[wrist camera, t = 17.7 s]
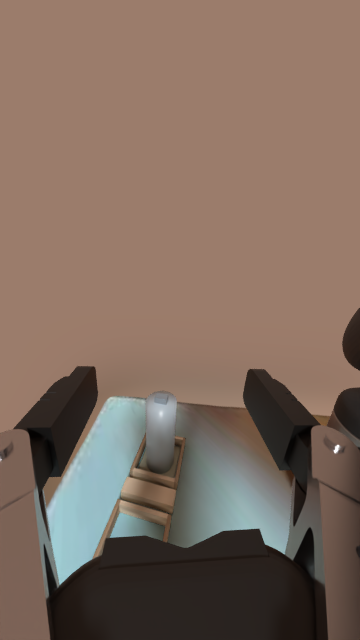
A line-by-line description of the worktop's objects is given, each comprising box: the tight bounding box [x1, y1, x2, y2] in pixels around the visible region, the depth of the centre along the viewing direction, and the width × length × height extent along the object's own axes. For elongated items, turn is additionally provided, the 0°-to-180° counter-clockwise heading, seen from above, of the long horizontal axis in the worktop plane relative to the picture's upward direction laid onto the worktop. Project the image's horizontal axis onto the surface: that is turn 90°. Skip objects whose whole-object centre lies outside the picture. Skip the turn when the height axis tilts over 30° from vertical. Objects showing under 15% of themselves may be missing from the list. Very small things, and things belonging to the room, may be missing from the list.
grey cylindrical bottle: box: [146, 391, 177, 474], centre depth 32 cm, size 5×5×14 cm
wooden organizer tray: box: [93, 433, 186, 559], centre depth 28 cm, size 8×20×2 cm, turn 169°
